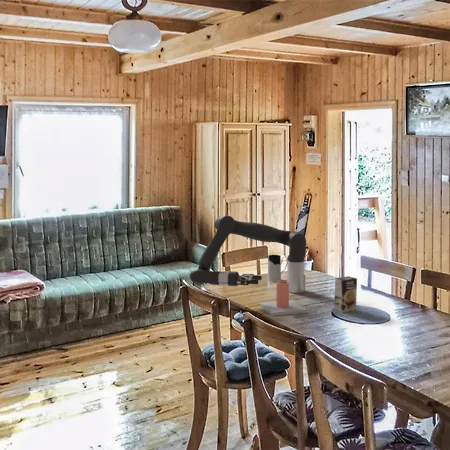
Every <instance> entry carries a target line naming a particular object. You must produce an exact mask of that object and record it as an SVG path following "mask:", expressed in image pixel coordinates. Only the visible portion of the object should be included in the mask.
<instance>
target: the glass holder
mask: <svg viewBox="0 0 450 450" xmlns="http://www.w3.org/2000/svg"><path fill="white" fill-rule="evenodd" d="M284 258H286V263H285V264H286V265H285V267H284V268H283V270H282V267H281V266H282V264H283V260H284ZM287 262H288V256H283V257H282V258H281V255H280V254H269V255H268V256H267V280H266V281H267V282H270V283H271V282H272V283H277V282H278V281H283V280H282V277H281V276H282V274H283V273H284V272H285V270H286V269H287Z"/></svg>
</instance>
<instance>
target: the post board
mask: <svg viewBox="0 0 450 450" xmlns="http://www.w3.org/2000/svg"><path fill="white" fill-rule="evenodd" d="M259 307H261V308H262V309H263V310H265V312H266V313H268V314H269V315H270V316H272V317H274V316H283V315H285V316H286V315H287V316H288V315H294V314H296V315H297V314H305V313H308V309H307V308H305V307H304V306H302V305H301V304H300V303H298V302H297V301H295V300H294V299H289V307H287V308H279V307H277V306H276V300H274V301H265V302H264V301H262V302H259Z"/></svg>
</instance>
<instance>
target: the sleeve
mask: <svg viewBox="0 0 450 450" xmlns="http://www.w3.org/2000/svg"><path fill="white" fill-rule="evenodd" d="M275 283H276V286H275V287H276V293H275V294H276V296H275V297H276V300H275V301H276V306H277V307H279V308H287V307H289V300H290V292H289V282H287V280H286V281H285V280H282V281H278V282H275Z"/></svg>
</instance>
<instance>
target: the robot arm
mask: <svg viewBox="0 0 450 450" xmlns="http://www.w3.org/2000/svg"><path fill="white" fill-rule="evenodd" d="M214 228H215V230H216V232H215V234H214V236H213V237H212V239H211V241H210V242H209V243H208V245H207V246H206V248H205V249H204V251H202V255H201V256H200V258H199V260H198V267H197V268H196V269H194V270H191V272H190V274H189V280H190V281H191V282H192V283H194V284H195V285H197V286H202V285H204V284H208V285H212V286H224V287H238V286H249V285H259V281H261V280H262V279H263V278H262V275H259V274H257V275H256V274H254V273H242V274H241V275H240V273H239V271H230V270H227V271H226V270H224V271H217V270H215V271H213V270H211V267H212V266H213V264H214V261H215V260H216V258H217V255H218V254H219V252H220V250H221V248H222V247H223V245H224V243H225V241H226V240H227V239H228V237H229V236H230V234H231V235H237V236H240V237H244V238H247V239H250V240H253V241H258V242H263V243H277V244H281V245H285V246H287V247H289V248H290V249H289V250H290V251H289V254H288V255H287V258H288V262H287V261H286V264H287V267H286V269H287V272H286V273H287V274H286V275H287V280H286V281H287V282H289V293H291V294H300V293H305V292H306V274H305V257H306V256H307V255H306V253H307V239H306V237H305V235H304V234H303V233H301V232H298V231H295V230H294V231H291V230H284V229H283V230H282V229H279V228H276V227H274V226H270V225H267V224H262V223H258V222H248V221H239V220H235V218H234V217H232V216H231V215H221V216H219V217H217V218H216V219H215V221H214Z"/></svg>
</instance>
